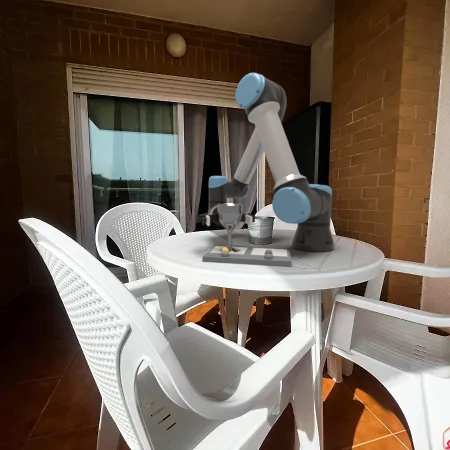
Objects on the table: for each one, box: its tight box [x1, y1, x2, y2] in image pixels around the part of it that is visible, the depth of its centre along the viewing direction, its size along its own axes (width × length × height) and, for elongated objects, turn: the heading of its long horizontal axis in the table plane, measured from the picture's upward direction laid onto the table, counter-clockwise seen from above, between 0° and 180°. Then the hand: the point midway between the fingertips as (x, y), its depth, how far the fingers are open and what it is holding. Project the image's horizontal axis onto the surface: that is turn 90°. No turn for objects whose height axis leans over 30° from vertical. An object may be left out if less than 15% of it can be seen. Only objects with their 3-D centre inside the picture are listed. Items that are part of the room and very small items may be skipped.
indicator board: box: [201, 245, 293, 268], centre depth 85 cm, size 26×15×4 cm, turn 79°
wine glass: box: [218, 202, 243, 252], centre depth 87 cm, size 8×8×15 cm
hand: (230, 221), depth 85 cm, fingers open, 13 cm apart
